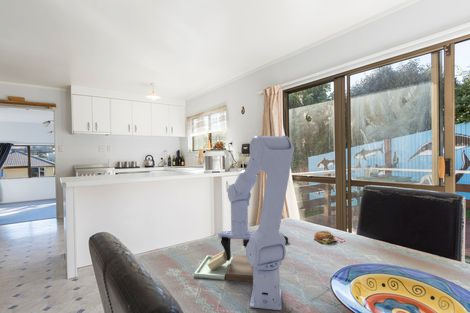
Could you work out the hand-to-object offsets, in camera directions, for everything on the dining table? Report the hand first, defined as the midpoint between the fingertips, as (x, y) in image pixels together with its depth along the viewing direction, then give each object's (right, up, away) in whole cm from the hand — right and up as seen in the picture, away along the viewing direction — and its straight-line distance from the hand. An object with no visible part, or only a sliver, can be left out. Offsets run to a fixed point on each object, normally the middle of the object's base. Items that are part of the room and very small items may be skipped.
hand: (240, 260), depth 81 cm
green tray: (-9, -4, +2) cm, 10 cm away
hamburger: (+40, -3, +26) cm, 48 cm away
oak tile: (-7, -2, +1) cm, 7 cm away
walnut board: (+1, -3, 0) cm, 4 cm away
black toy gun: (+11, -4, +29) cm, 31 cm away
